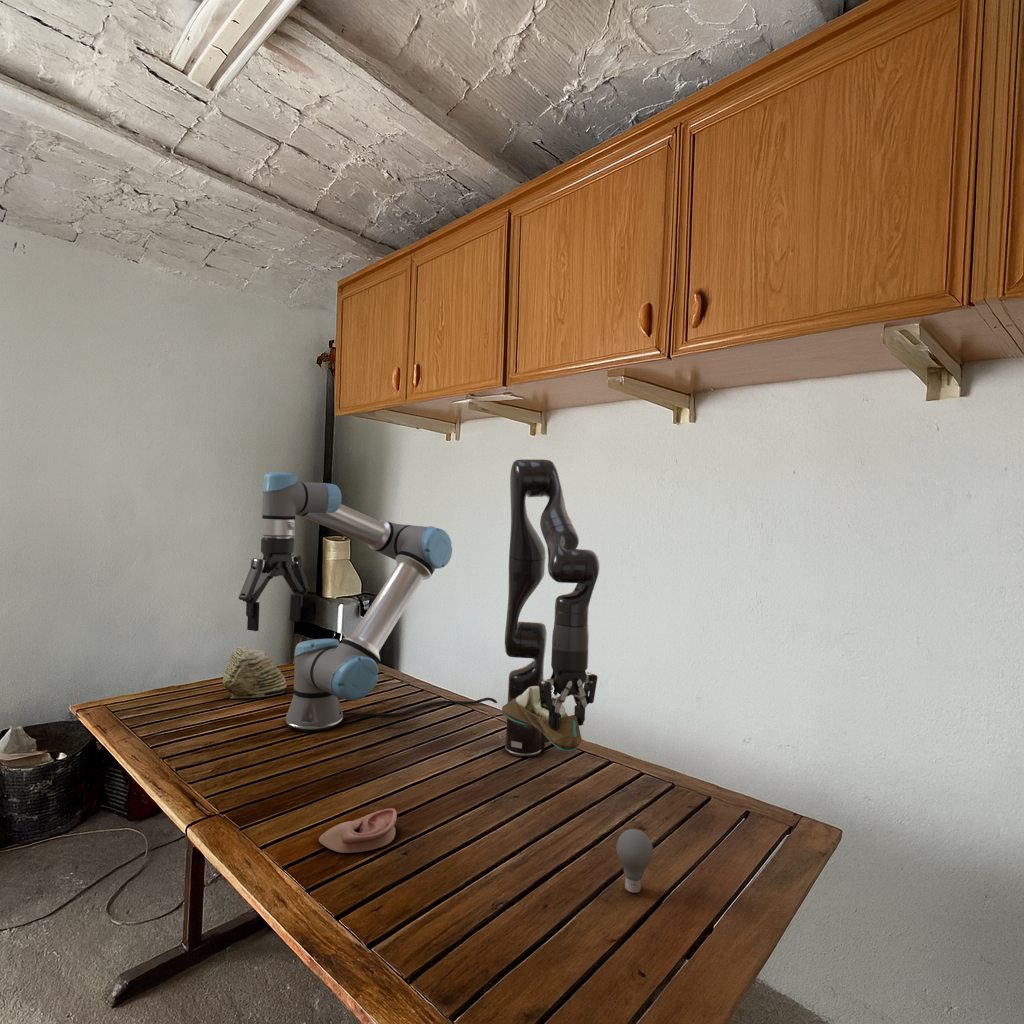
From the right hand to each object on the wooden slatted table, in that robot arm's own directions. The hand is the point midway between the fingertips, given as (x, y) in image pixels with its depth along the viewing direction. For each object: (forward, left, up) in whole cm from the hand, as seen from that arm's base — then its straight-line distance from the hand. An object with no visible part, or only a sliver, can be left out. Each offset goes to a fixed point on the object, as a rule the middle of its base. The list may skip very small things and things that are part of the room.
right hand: (566, 726), depth 131 cm
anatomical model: (+41, -7, -18) cm, 45 cm away
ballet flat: (+1, -9, -4) cm, 10 cm away
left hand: (+51, -51, +14) cm, 73 cm away
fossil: (+50, -102, -18) cm, 115 cm away
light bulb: (+3, +27, -18) cm, 33 cm away
